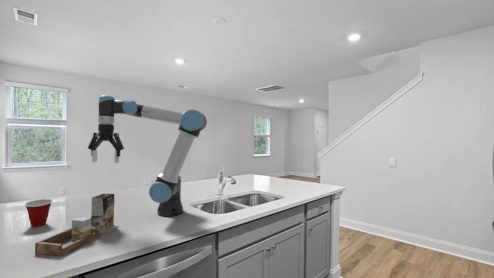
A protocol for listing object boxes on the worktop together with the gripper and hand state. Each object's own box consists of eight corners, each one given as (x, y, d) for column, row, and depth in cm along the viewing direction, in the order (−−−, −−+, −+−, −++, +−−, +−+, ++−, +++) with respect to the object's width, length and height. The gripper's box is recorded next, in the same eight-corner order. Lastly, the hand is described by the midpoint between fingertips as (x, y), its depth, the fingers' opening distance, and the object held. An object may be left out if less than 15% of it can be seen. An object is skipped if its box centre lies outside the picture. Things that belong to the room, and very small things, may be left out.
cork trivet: (118, 226, 118) (118, 225, 118) (104, 233, 109) (104, 232, 109) (100, 225, 119) (100, 224, 119) (86, 232, 110) (86, 230, 110)
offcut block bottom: (90, 237, 104) (91, 231, 104) (83, 241, 100) (83, 234, 100) (79, 236, 105) (79, 230, 105) (71, 240, 101) (71, 233, 101)
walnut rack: (98, 236, 105) (99, 227, 105) (61, 256, 87) (61, 245, 87) (75, 234, 107) (76, 226, 107) (34, 253, 89) (35, 242, 89)
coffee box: (104, 231, 110) (105, 197, 110) (90, 231, 109) (91, 197, 109) (114, 224, 119) (114, 193, 119) (101, 224, 118) (101, 193, 118)
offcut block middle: (91, 231, 104) (91, 224, 104) (83, 234, 100) (83, 227, 100) (79, 230, 105) (79, 223, 105) (71, 233, 102) (71, 226, 102)
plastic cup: (19, 230, 111) (20, 205, 111) (28, 223, 121) (29, 200, 121) (48, 226, 116) (49, 203, 116) (54, 220, 126) (55, 198, 126)
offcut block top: (91, 224, 104) (91, 218, 104) (83, 227, 100) (83, 221, 100) (80, 223, 105) (80, 217, 105) (71, 226, 102) (71, 219, 102)
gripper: (80, 123, 126) (79, 162, 126) (122, 123, 123) (121, 163, 123) (91, 124, 134) (90, 161, 133) (131, 124, 130) (130, 162, 130)
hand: (105, 162), depth 128 cm, fingers open, 13 cm apart
